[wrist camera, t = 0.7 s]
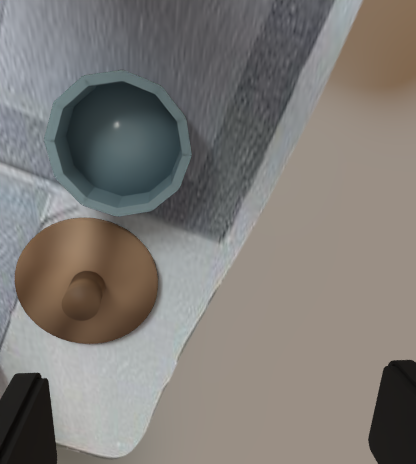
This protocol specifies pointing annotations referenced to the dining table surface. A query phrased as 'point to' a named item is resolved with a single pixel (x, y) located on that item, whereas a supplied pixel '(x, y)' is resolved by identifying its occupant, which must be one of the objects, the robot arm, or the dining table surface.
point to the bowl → (118, 143)
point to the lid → (86, 280)
